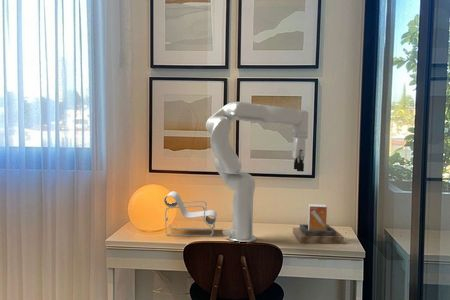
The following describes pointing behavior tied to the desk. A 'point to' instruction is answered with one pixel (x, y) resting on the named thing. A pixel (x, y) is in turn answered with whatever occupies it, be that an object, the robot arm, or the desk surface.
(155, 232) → the desk surface
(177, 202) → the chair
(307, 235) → the display stand
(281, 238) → the desk surface
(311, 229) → the small box
